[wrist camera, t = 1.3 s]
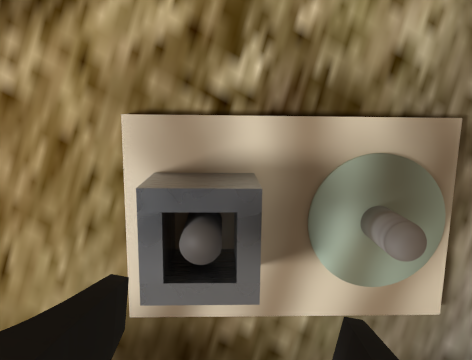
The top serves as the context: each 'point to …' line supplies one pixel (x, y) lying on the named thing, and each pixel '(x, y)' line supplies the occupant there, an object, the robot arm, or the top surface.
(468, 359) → the top surface
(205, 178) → the steel collar
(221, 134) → the board
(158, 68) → the top surface
